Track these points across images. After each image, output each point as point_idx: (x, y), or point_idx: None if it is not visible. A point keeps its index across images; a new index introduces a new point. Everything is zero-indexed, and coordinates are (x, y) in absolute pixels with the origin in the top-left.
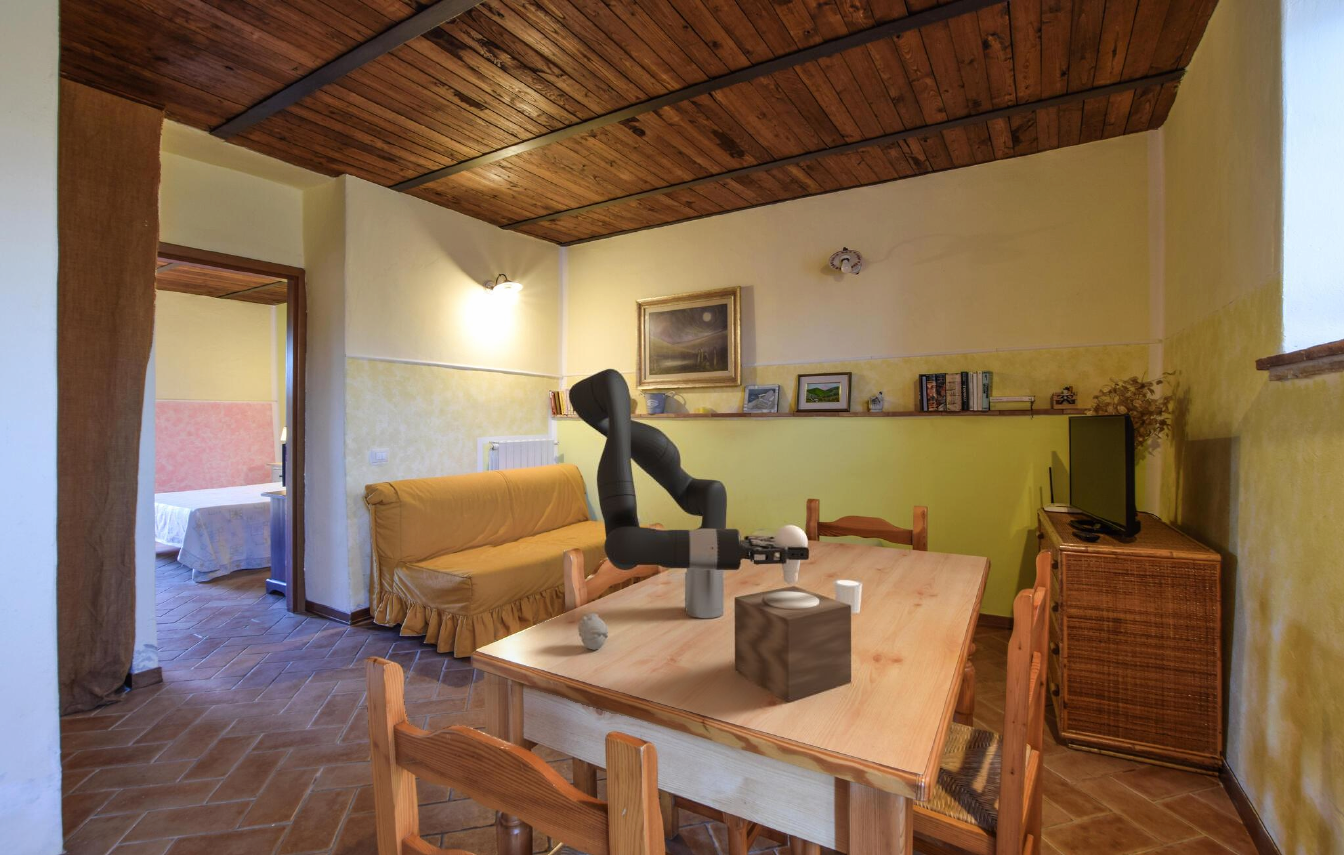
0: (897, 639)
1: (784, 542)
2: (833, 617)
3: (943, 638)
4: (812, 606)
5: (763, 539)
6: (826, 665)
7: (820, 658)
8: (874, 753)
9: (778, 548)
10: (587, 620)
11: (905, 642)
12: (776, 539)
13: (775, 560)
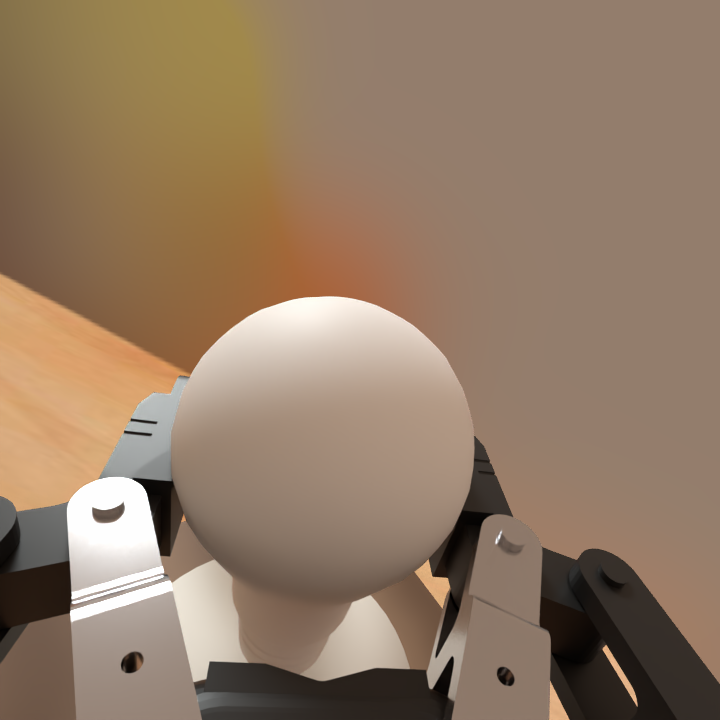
0: (70, 420)
1: (461, 504)
2: None
3: (109, 357)
4: (377, 607)
5: (194, 688)
6: None
7: None
8: (634, 699)
9: (534, 602)
10: None
11: (96, 415)
12: (388, 541)
13: (609, 708)
